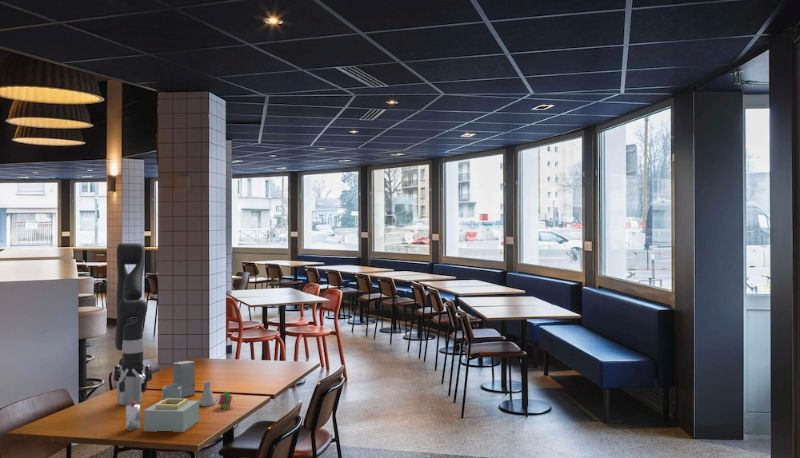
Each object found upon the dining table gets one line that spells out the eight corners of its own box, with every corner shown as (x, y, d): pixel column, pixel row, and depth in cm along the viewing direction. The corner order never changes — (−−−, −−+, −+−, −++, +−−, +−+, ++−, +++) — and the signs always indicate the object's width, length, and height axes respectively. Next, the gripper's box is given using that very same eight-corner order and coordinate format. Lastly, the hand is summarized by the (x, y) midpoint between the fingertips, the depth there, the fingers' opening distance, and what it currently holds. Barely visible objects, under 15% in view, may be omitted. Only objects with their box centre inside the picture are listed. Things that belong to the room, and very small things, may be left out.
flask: (210, 407, 255) (210, 384, 255) (195, 406, 256) (195, 383, 257) (218, 402, 262) (218, 380, 262) (204, 401, 264) (204, 379, 264)
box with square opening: (143, 431, 224) (143, 406, 224) (161, 419, 238) (161, 396, 238) (183, 432, 223) (183, 407, 223) (199, 420, 237) (199, 397, 237)
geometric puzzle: (229, 398, 261) (220, 386, 257) (240, 400, 257) (231, 388, 253) (219, 411, 256) (210, 399, 252) (230, 413, 252) (221, 401, 248)
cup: (163, 413, 246) (163, 390, 246) (161, 408, 253) (161, 385, 253) (182, 410, 250) (182, 387, 250) (180, 406, 257) (180, 383, 257)
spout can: (123, 430, 225) (123, 403, 226) (130, 426, 230) (130, 399, 231) (135, 430, 225) (135, 403, 225) (142, 426, 230) (142, 399, 230)
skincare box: (180, 398, 268) (179, 364, 268) (171, 396, 272) (171, 362, 273) (196, 394, 275) (196, 361, 275) (187, 392, 279) (187, 359, 279)
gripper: (110, 352, 225) (110, 394, 225) (145, 352, 224) (145, 394, 223) (121, 348, 232) (121, 389, 232) (155, 348, 231) (155, 389, 231)
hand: (133, 391), depth 228 cm, fingers open, 8 cm apart
